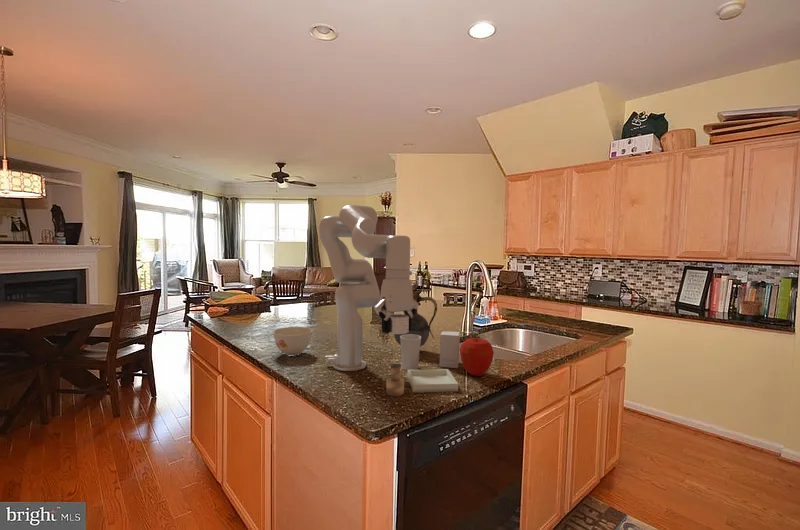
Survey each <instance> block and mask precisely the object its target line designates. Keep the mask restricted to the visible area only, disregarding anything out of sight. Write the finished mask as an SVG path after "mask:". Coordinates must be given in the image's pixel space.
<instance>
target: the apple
mask: <svg viewBox="0 0 800 530" xmlns="http://www.w3.org/2000/svg"><path fill="white" fill-rule="evenodd" d="M494 354H495V352H494V349H493V345H492V344H491V342H489V341H488V340H487V339H483V338H479V337H478V336H476V337H470V338H467V339H466V340H464V341H463V342H462V343H461V345H460V346H459V355H460V360H461V362H462V366H463V368H464V370H465V371H466V372H468V373H469V375H471V376H475V377H482V376H483V375H484V374H486V373H487V372H488V370H489V369H490V366H491V365H492V363H493V359H494Z"/></svg>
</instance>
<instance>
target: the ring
mask: <svg viewBox="0 0 800 530" xmlns="http://www.w3.org/2000/svg"><path fill="white" fill-rule="evenodd" d="M388 320H389V321H390V330H389V333H388V334H390V335H394V334H405V333H408V332H409V316H408V315H405V314H404V313H391V314H390V316H389V318H388Z"/></svg>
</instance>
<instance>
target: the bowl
mask: <svg viewBox="0 0 800 530" xmlns="http://www.w3.org/2000/svg"><path fill="white" fill-rule="evenodd" d="M313 331H314V330H313V329H311V327H306V326H288V327H287V326H286V327H281V328H277V329H275V330H273V331H272V335H273V339H274V342H275V345H276V347H277V349H278V350H279V351H281V352H282V353H284V355H285V354H286V355H298V354H300V355H301V354H302V352H304V351H306V349H307V348H309V347H308V346H309V345H310V344H311V339H312V335H313ZM286 355H285V356H286Z"/></svg>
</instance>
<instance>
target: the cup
mask: <svg viewBox="0 0 800 530" xmlns="http://www.w3.org/2000/svg"><path fill="white" fill-rule="evenodd" d="M400 341H401V345H400V353H401V369H403V370H404V371H407V370H419V362H420V352H421V347H420V344H421V336H419V335H413V334H406V335H401V336H400Z"/></svg>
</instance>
